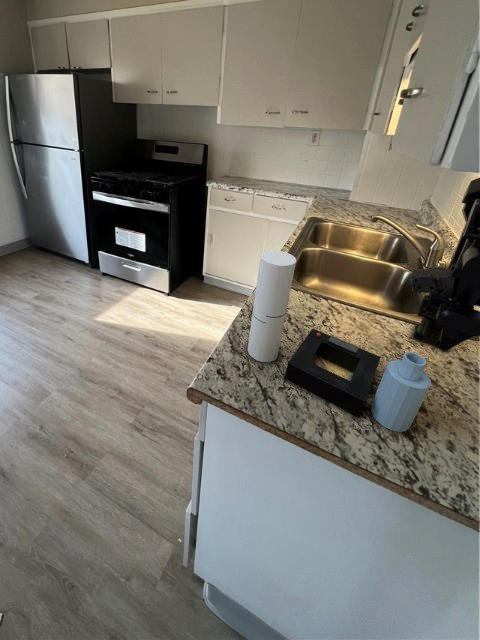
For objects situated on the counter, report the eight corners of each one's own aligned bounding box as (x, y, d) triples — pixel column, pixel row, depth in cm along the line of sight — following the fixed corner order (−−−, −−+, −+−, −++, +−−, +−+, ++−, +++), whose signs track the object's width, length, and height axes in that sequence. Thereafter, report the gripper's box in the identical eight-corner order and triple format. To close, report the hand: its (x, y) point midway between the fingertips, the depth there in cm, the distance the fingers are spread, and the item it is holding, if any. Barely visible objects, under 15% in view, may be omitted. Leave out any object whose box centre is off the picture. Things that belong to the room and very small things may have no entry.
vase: (367, 397, 64) (389, 341, 58) (404, 406, 62) (430, 350, 56) (374, 425, 58) (398, 367, 52) (414, 436, 56) (444, 377, 50)
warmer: (309, 342, 78) (313, 326, 76) (375, 372, 70) (381, 354, 68) (284, 378, 68) (288, 360, 66) (359, 418, 59) (366, 399, 57)
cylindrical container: (278, 364, 71) (297, 267, 61) (247, 359, 73) (260, 263, 62) (277, 343, 78) (294, 252, 67) (248, 339, 79) (260, 248, 68)
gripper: (426, 239, 66) (403, 301, 73) (417, 271, 53) (389, 343, 59) (496, 255, 60) (463, 321, 67) (505, 294, 47) (463, 372, 53)
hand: (443, 337), depth 62 cm, fingers open, 9 cm apart
